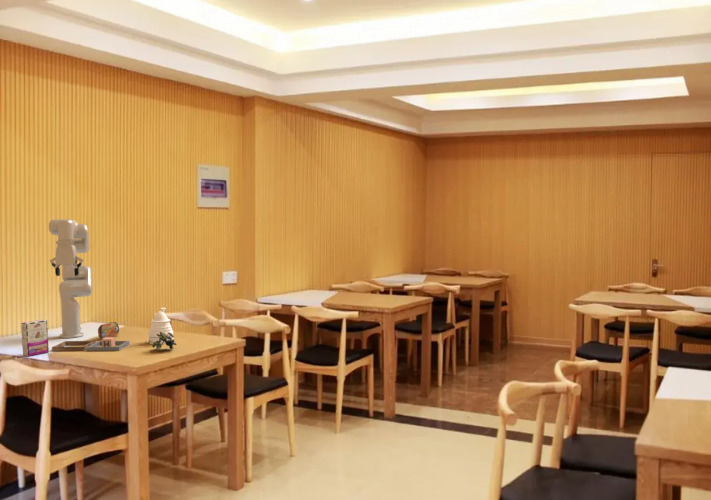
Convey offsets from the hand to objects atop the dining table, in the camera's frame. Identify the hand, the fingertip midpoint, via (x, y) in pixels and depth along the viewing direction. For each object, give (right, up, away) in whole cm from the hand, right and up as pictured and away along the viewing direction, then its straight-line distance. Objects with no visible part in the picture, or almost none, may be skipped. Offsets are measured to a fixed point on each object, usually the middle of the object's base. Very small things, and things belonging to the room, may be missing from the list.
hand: (67, 275), depth 358 cm
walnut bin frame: (+7, -37, -9) cm, 39 cm away
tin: (+15, -36, +18) cm, 43 cm away
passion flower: (+56, -37, -18) cm, 69 cm away
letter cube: (+25, -37, -10) cm, 46 cm away
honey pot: (+48, -36, +5) cm, 60 cm away
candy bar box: (-5, -38, -24) cm, 45 cm away
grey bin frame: (+25, -37, -10) cm, 46 cm away
